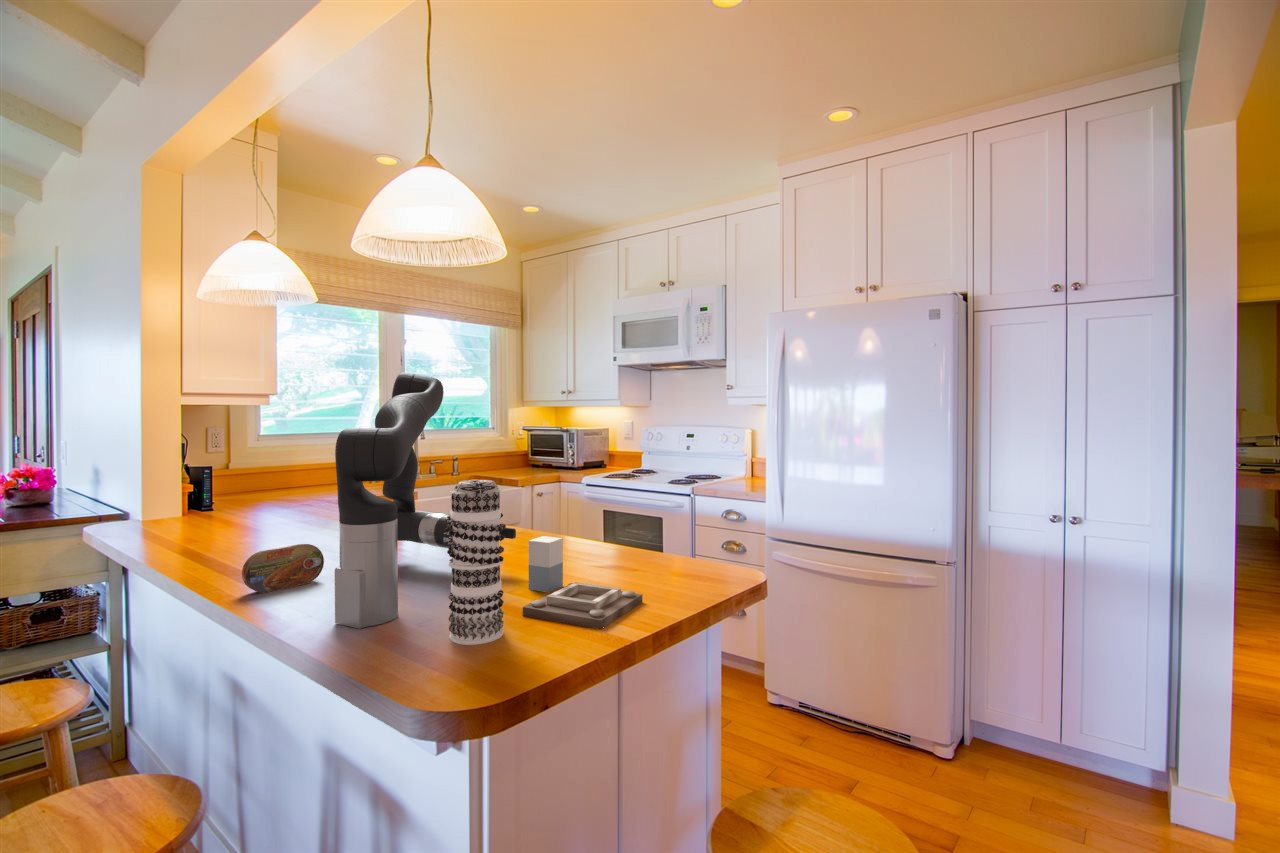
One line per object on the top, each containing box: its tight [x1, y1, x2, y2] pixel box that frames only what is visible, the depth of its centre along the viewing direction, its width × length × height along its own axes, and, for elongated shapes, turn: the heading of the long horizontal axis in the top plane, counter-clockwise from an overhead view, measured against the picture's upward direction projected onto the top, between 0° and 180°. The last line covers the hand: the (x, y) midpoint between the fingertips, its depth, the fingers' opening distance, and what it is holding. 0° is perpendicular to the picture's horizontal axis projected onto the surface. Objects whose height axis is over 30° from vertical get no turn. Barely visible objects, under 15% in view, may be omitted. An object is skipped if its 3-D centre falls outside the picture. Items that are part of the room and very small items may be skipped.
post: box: [528, 535, 564, 593], centre depth 124 cm, size 5×5×10 cm
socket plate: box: [522, 581, 643, 630], centre depth 111 cm, size 16×16×3 cm
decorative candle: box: [446, 479, 506, 646], centre depth 97 cm, size 9×9×25 cm
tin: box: [241, 543, 325, 594], centre depth 125 cm, size 15×3×8 cm, turn 143°
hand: (502, 537), depth 129 cm, fingers open, 8 cm apart
